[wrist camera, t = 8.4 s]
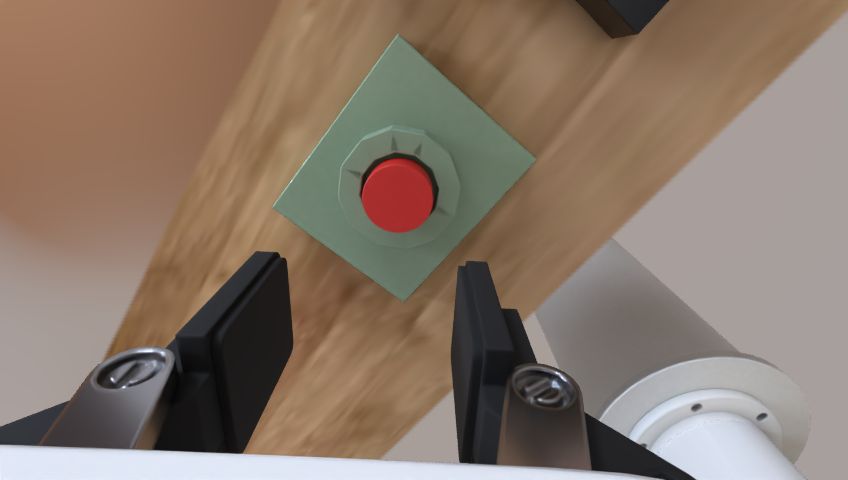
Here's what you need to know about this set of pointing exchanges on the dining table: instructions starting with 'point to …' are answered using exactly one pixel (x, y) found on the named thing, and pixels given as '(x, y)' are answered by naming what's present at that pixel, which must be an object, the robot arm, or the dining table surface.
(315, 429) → the dining table surface
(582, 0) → the panel
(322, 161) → the button box
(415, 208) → the button
